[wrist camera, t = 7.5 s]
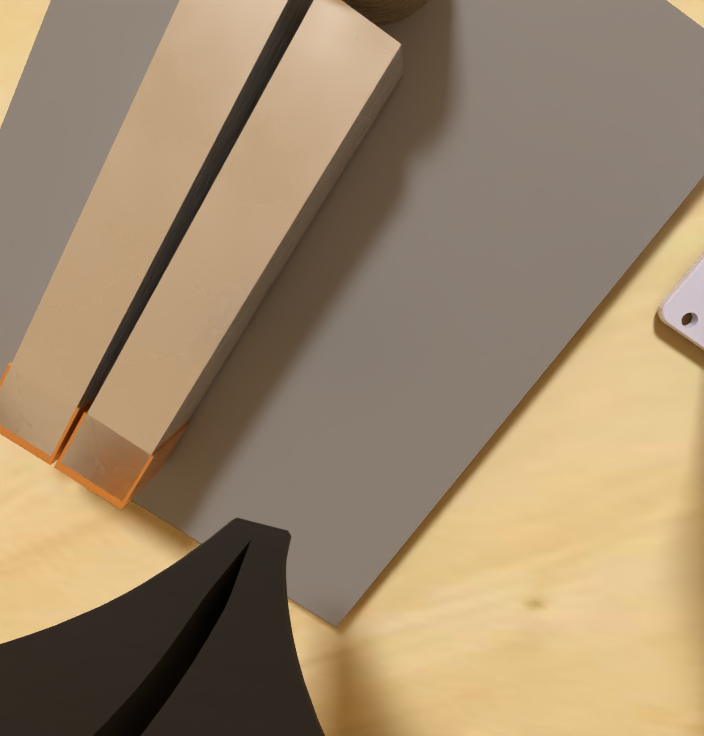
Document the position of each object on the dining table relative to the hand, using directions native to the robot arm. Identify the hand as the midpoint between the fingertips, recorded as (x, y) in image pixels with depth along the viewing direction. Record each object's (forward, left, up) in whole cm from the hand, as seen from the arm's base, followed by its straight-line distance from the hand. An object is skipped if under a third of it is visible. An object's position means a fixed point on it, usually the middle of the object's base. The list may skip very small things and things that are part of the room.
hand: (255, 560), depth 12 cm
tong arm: (+5, -3, -8) cm, 10 cm away
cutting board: (+5, -5, -9) cm, 12 cm away
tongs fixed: (+7, -6, -8) cm, 12 cm away
